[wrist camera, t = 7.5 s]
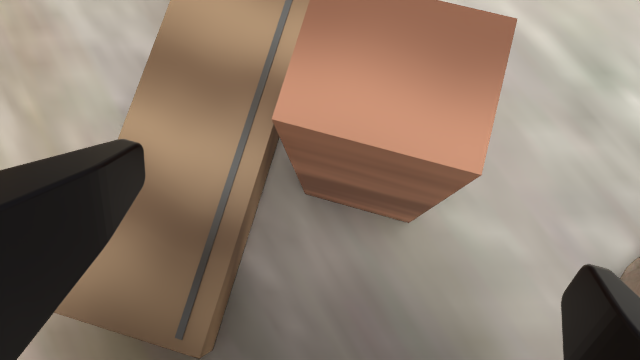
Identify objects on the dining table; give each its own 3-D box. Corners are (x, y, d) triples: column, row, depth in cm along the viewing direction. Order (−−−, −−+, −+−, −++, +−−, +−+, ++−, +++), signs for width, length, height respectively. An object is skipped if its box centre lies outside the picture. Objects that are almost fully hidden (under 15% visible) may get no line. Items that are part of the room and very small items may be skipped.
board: (212, 350, 20) (198, 359, 18) (79, 308, 21) (51, 312, 19) (344, -71, 24) (344, -102, 22) (228, -97, 25) (218, -130, 23)
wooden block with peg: (408, 222, 21) (481, 174, 10) (305, 193, 22) (271, 119, 11) (448, 66, 23) (548, -119, 12) (350, 42, 23) (360, -158, 12)
